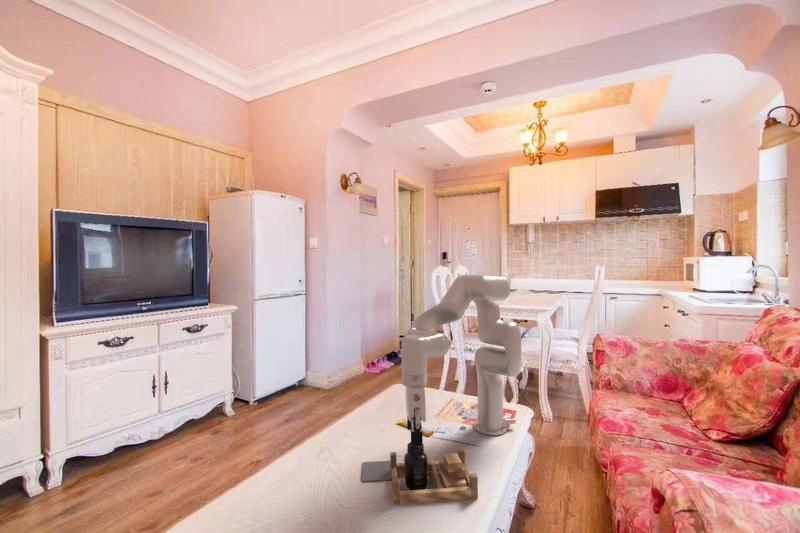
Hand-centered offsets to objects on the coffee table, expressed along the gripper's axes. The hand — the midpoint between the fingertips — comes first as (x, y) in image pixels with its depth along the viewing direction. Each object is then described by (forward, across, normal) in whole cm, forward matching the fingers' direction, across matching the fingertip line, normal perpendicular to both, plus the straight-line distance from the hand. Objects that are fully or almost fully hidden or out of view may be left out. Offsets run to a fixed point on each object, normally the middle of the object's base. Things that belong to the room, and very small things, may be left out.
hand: (414, 436), depth 106 cm
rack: (+14, +1, -5) cm, 15 cm away
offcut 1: (+10, 0, -11) cm, 15 cm away
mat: (+15, +9, +10) cm, 20 cm away
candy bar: (+15, +36, -5) cm, 39 cm away
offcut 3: (+15, +1, -11) cm, 19 cm away
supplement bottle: (+15, +1, -1) cm, 15 cm away
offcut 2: (+12, +1, -11) cm, 17 cm away
